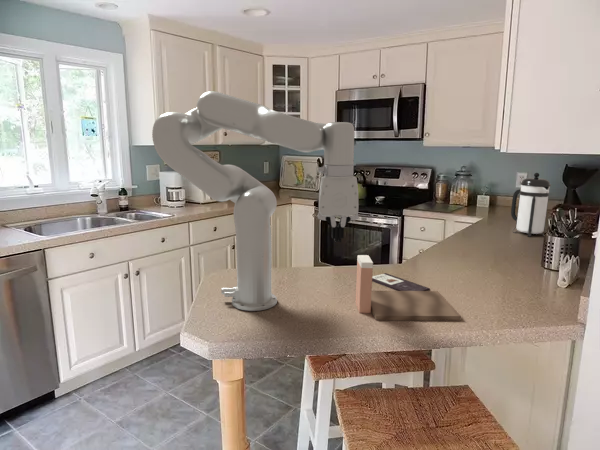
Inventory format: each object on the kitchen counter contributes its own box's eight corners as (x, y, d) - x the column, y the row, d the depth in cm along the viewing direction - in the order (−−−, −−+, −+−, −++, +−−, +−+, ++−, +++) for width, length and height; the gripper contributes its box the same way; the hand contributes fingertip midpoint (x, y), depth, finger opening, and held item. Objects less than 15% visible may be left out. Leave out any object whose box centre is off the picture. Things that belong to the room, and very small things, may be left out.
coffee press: (547, 232, 214) (555, 172, 207) (545, 239, 200) (554, 174, 194) (509, 228, 223) (516, 170, 216) (505, 234, 209) (512, 172, 203)
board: (375, 319, 110) (375, 315, 110) (364, 294, 128) (364, 290, 127) (460, 320, 110) (461, 316, 110) (437, 294, 128) (437, 291, 128)
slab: (359, 312, 114) (361, 262, 111) (355, 302, 121) (357, 255, 118) (370, 312, 114) (373, 262, 112) (366, 302, 121) (368, 255, 118)
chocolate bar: (411, 294, 127) (367, 277, 141) (410, 297, 127) (366, 280, 141) (429, 288, 132) (385, 273, 146) (429, 291, 132) (385, 275, 146)
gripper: (310, 173, 106) (309, 244, 110) (370, 172, 106) (368, 244, 110) (309, 170, 114) (308, 237, 117) (365, 170, 114) (363, 237, 117)
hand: (337, 240), depth 114 cm, fingers closed
